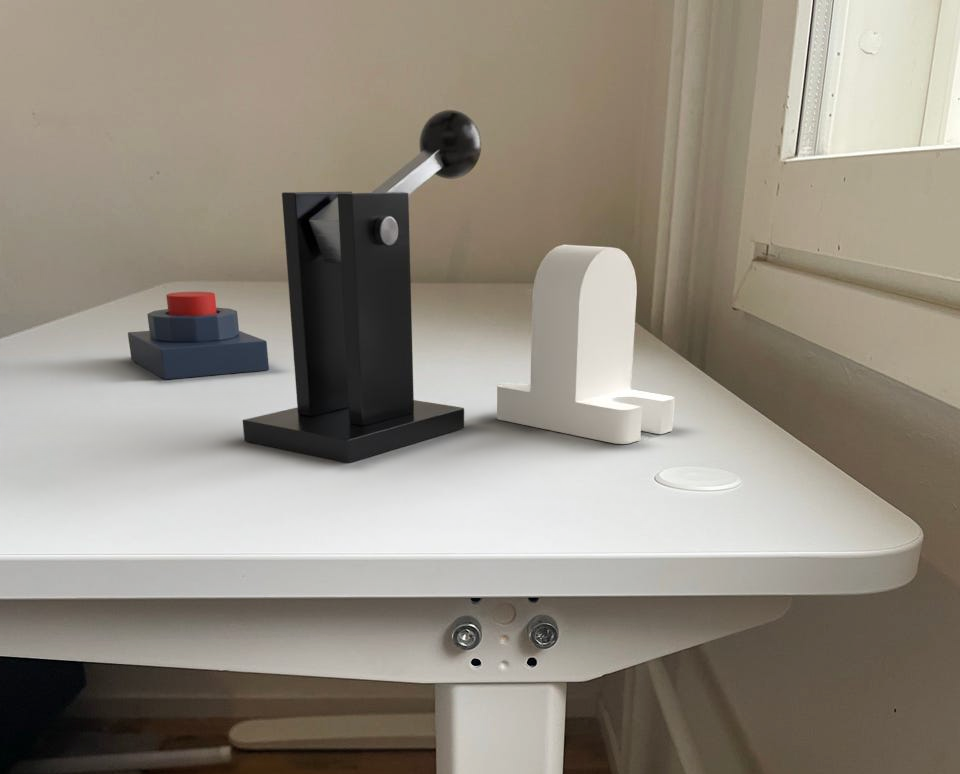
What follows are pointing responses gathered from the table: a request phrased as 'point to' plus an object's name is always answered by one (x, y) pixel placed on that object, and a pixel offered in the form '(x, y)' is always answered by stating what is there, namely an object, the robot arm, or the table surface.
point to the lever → (413, 171)
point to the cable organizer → (584, 352)
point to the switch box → (197, 345)
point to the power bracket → (351, 335)
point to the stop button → (191, 303)
